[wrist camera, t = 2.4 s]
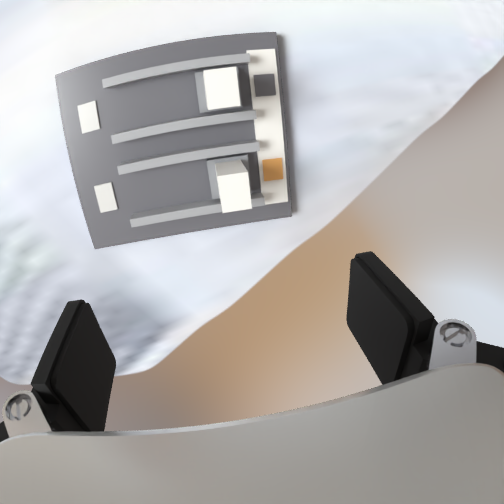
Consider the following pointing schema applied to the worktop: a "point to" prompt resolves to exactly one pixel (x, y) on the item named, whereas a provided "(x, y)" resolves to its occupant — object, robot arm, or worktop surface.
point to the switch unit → (173, 137)
